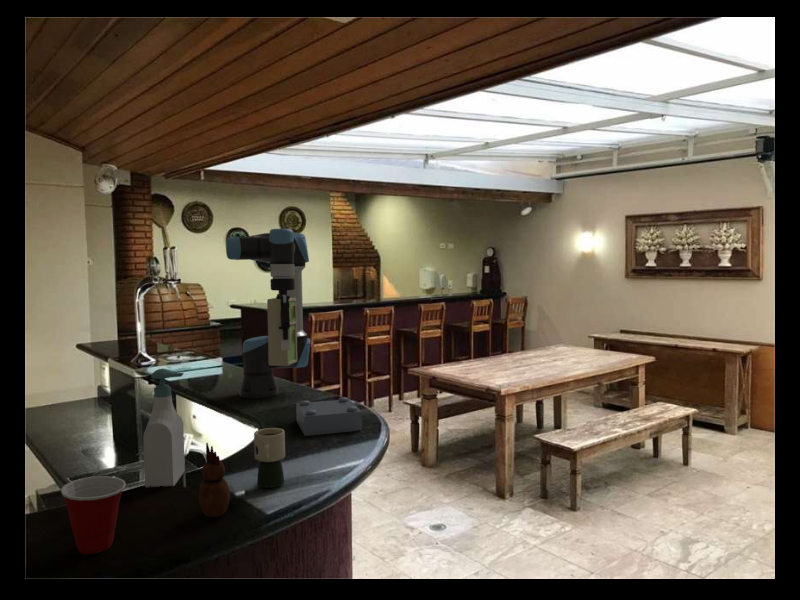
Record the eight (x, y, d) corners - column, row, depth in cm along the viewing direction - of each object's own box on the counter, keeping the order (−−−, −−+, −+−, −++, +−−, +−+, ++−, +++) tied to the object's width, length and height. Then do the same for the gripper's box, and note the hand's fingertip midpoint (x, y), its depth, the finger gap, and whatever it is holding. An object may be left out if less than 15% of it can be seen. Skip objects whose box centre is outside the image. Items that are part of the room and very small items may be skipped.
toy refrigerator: (289, 366, 184) (288, 299, 182) (268, 365, 185) (266, 299, 184) (299, 362, 191) (298, 297, 190) (278, 361, 193) (277, 297, 192)
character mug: (259, 477, 146) (258, 425, 145) (288, 476, 146) (287, 425, 145) (251, 495, 135) (249, 439, 134) (282, 493, 135) (281, 438, 134)
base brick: (296, 421, 197) (296, 400, 197) (349, 416, 203) (349, 396, 202) (304, 435, 180) (304, 413, 180) (361, 430, 186) (361, 408, 185)
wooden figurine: (196, 511, 126) (194, 442, 125) (223, 505, 129) (221, 437, 128) (205, 523, 120) (203, 450, 119) (233, 515, 124) (231, 445, 123)
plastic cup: (114, 560, 106) (111, 494, 105) (51, 562, 105) (48, 497, 104) (137, 532, 116) (135, 473, 116) (80, 534, 116) (78, 474, 115)
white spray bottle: (181, 486, 140) (177, 372, 139) (145, 488, 139) (140, 373, 138) (192, 470, 151) (188, 364, 150) (158, 471, 150) (154, 365, 149)
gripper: (268, 277, 197) (269, 343, 198) (272, 278, 175) (274, 353, 176) (291, 276, 199) (292, 342, 200) (298, 278, 177) (299, 351, 178)
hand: (284, 347), depth 188 cm, fingers closed on toy refrigerator, 10 cm apart
